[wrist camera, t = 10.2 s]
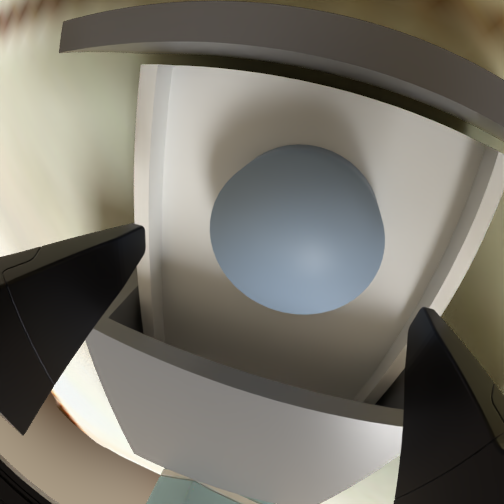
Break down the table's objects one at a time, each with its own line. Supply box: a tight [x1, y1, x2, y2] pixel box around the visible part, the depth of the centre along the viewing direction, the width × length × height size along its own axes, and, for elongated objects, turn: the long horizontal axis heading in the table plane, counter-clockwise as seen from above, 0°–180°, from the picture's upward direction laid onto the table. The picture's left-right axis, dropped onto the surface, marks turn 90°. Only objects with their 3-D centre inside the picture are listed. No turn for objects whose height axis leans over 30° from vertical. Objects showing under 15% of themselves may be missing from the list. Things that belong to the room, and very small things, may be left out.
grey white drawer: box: [59, 1, 504, 405], centre depth 13 cm, size 18×20×6 cm
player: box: [85, 267, 405, 504], centre depth 20 cm, size 18×20×6 cm
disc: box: [210, 144, 385, 315], centre depth 12 cm, size 6×6×2 cm
